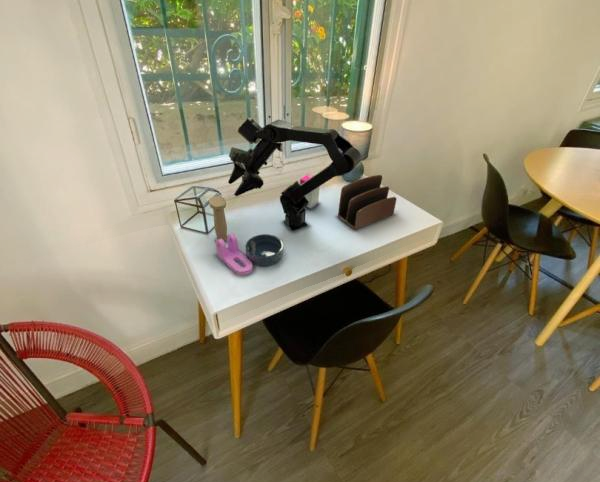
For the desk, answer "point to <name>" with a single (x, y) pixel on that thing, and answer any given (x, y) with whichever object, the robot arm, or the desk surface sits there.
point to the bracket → (233, 255)
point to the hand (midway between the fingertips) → (232, 189)
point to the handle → (219, 216)
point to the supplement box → (311, 193)
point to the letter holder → (365, 202)
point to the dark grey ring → (264, 250)
